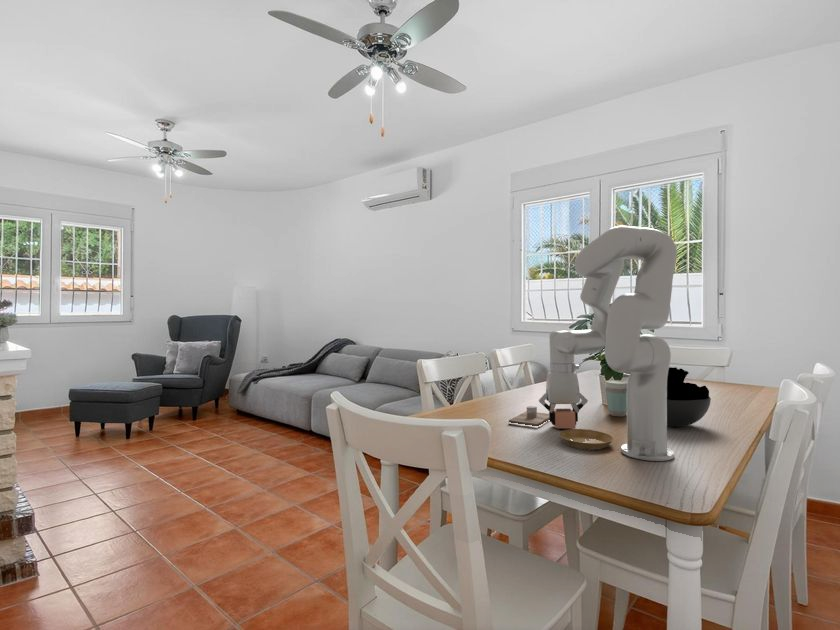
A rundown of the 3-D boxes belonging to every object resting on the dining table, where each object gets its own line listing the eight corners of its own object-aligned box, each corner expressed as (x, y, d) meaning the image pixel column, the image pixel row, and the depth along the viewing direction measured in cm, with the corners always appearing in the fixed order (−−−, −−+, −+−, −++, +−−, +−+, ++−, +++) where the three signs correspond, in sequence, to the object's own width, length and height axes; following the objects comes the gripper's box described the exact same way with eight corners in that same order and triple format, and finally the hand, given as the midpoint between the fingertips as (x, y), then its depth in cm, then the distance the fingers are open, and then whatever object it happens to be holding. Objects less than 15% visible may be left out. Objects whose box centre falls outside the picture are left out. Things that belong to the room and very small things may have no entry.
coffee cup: (634, 417, 161) (634, 383, 161) (610, 417, 161) (609, 383, 161) (624, 411, 170) (623, 379, 169) (601, 412, 170) (600, 380, 170)
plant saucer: (618, 442, 132) (618, 433, 132) (607, 456, 120) (607, 446, 120) (567, 435, 140) (567, 426, 140) (551, 447, 128) (551, 437, 128)
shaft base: (537, 428, 147) (537, 413, 147) (508, 424, 153) (508, 409, 153) (553, 418, 161) (553, 404, 161) (526, 415, 166) (526, 401, 166)
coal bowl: (691, 418, 158) (691, 364, 158) (724, 434, 138) (723, 372, 138) (631, 418, 160) (631, 364, 160) (655, 433, 140) (655, 372, 140)
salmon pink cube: (575, 428, 144) (575, 410, 144) (556, 428, 145) (555, 410, 145) (570, 423, 150) (570, 406, 150) (552, 423, 151) (551, 407, 151)
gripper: (586, 367, 151) (587, 421, 150) (533, 367, 152) (534, 421, 152) (592, 369, 143) (594, 426, 143) (537, 370, 144) (538, 426, 144)
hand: (563, 423), depth 147 cm, fingers closed on salmon pink cube, 6 cm apart
